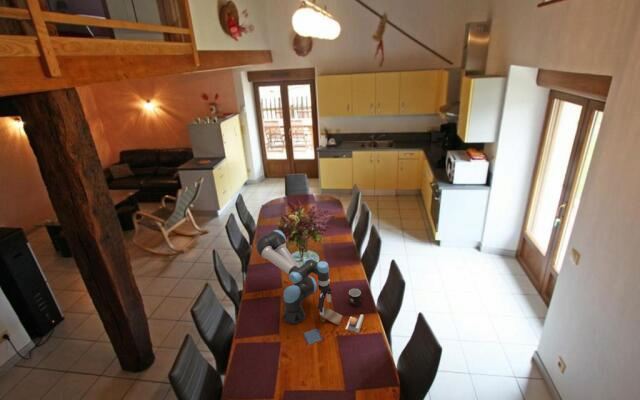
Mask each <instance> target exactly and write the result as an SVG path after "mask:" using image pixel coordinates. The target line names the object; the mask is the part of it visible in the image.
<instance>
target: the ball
mask: <svg viewBox="0 0 640 400" xmlns="http://www.w3.org/2000/svg"><path fill="white" fill-rule="evenodd" d="M351 317H352V318H350V317H349V319H350V324H351V325H355V324H356V323H357V320H356V318H357V317H354V316H351Z"/></svg>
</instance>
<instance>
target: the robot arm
mask: <svg viewBox="0 0 640 400" xmlns="http://www.w3.org/2000/svg"><path fill="white" fill-rule="evenodd" d="M255 250H256V252H257V254H258V255H259V257H261V258H263V259H266V260H268V261H269V262H271V264H273V265H275V266H276V267H277V268H279V270H281V271H283V272H284V273H285V274H287V275H288V279H289V281H290V282H291V283H292V285H289V286H287V287H285V289H284V290H283V302H284V312H283V319H284V322H285V323H287V324H288V325H298V324H300V323H302V322H303V321H304V320H305V319H306V313H305V310H304V308H303V305H302V303H303V302H304V301H305V300H307V299H308V298H309V297H310V296H312V295H313V294H314V293H315V292H316V291H317V289H318V290H319V291H320V294H318V303H317V310H319V315H323V316H324V308H325V306H324V303H325V299H326V302H328V303H331V302H332V299H331V298H332V297H331V295H332V288H331V286H330V285H331V284H330V281H331V280H330V267H329V263H328V262H327V261H325V260H322V261H316V260H314V259H311V258H305V259H304V261H303V262H302V264H301V266H299V264H298V263H297V261H296V259H295V258H294V257H293V256H292V253H291V252H290V251H289V249H288V248H287V239H286V236H285V233H283V231H282V230H279V229H274V230H272V231H270V232H269V233H266V234H265V235H262V236H261V237H259V238H258V239H257V241H256V244H255ZM312 273H313V274H314V275H316V276H317V281H316V280H315V278H314V277H312V276H310V275H311V274H312Z"/></svg>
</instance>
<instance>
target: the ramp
mask: <svg viewBox="0 0 640 400" xmlns="http://www.w3.org/2000/svg"><path fill="white" fill-rule="evenodd" d="M319 315H320V314H319ZM343 317H344V315H342V314H340V313H338V312H337V311H335V310H332V309H330V308H329V307H327V306H324V316H323V315H320V318H319V319H320V323H321V322H322V323H325V322H326V320H327V321H328V322H331V323H333V324H334V325H337V326H339V325H340V324H341V321H342V319H343Z"/></svg>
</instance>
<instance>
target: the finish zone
mask: <svg viewBox="0 0 640 400" xmlns="http://www.w3.org/2000/svg"><path fill="white" fill-rule="evenodd" d="M352 317H353V316H350V317H349V319H348V321H347V325H345V331H346V330H347V331H351V332H355V333H356V334H359V333H360V331H361V328H362V325H363V323H364V314H360V316H359V318H358V317H355V318H356V320H357V323H356V324H355V325H351V324H350V318H352Z"/></svg>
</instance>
